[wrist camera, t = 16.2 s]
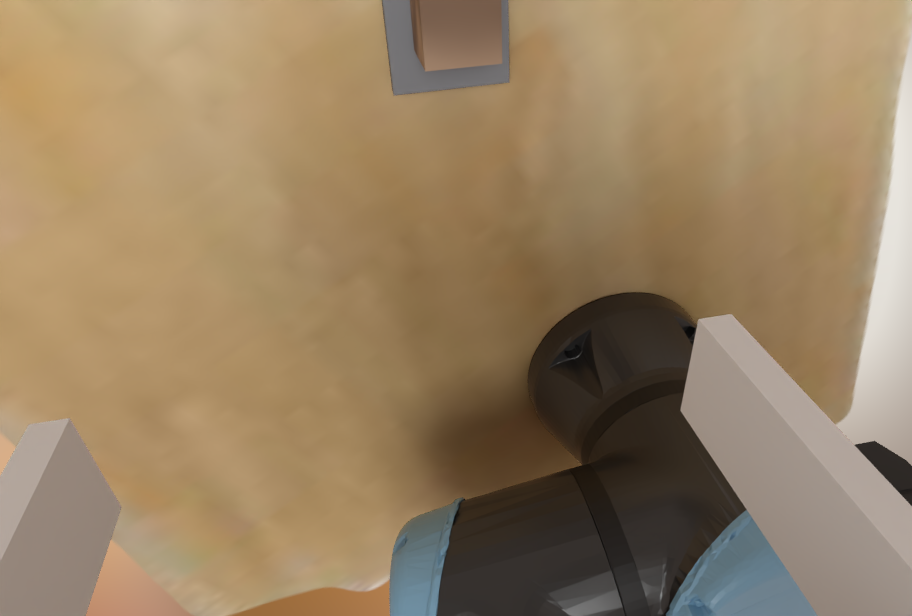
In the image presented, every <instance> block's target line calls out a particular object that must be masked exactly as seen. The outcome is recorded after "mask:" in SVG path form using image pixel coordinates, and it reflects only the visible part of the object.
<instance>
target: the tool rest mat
mask: <svg viewBox="0 0 912 616" xmlns="http://www.w3.org/2000/svg"><path fill="white" fill-rule="evenodd" d="M382 6H383V14H384V23H385V31H386V39H387V48H388V56H389V65H390V73H391V81H392V90H393V94H394V95H402V94H411V93H420V92H429V91H437V90H446V89H455V88H464V87H473V86H482V85H491V84H500V83H509V23H508V0H501V9H502V64H494V65H484V66H474V67H465V68H455V69H445V70H436V71H426V72H425V70H424V68H423V66H422V64H421V62H420V60H419V59H418V57H417V55H416V53H415V51H414V43H413V32H412V21H411V10H410V0H382Z"/></svg>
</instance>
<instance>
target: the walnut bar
mask: <svg viewBox="0 0 912 616" xmlns="http://www.w3.org/2000/svg"><path fill="white" fill-rule="evenodd" d="M410 10H411V21H412V32H413V43H414V51H415V53H416V55H417V57H418V59H419V60H420V62H421V64H422V66H423V68H424V70H425V72H426V71H436V70H445V69H455V68H465V67H474V66H484V65H494V64H502V9H501V0H410Z"/></svg>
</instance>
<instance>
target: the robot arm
mask: <svg viewBox="0 0 912 616" xmlns="http://www.w3.org/2000/svg"><path fill="white" fill-rule="evenodd" d="M528 389H529V394H530V397H531V400H532V402H533V405H534V407H535V410H536V412H537V415H538V417H539V419H540V420H541V422H542V423H543V425H544V426H545V427H546V429H547V430H548V431H549V432H550V433H551V434H552V435H553V436H554V437H555V438H556V439H557V440H558V441H559V442H560V443H561V444H562V445H563V446H564V447H565V448H566V449H567V450H568V451H569V452H570V453H571V454H572V455H573V456H574V457H575V458H576V459H577V460H578V461H579V462H580V463H581V464H582V466H579V467H575V468H572V469H567V470H564V471H561V472H557V473H554V474H551V475H547V476H544V477H541V478H538V479H534V480H531V481H528V482H525V483H521V484H518V485H515V486H511V487H508V488H505V489H502V490H498V491H495V492H492V493H489V494H485V495H482V496H478V497H475V498H471V499H468V500H465V499H464V498H463V497H462V498H458V499H456V500H455V501H454V502H453V503H452V504H450V505H447V506H444V507H441V508H439V509H436V510H433V511H430V512H427V513H425V514H422V515H419V516H417V517H415V518H413V519H411V520H410V521H408V522H407V523H406V524H405V525H404V527H403V528H402V529H401V531H400V533H399V535H398V537H397V539H396V542H395V545H394V549H393V554H392V561H391V570H390V616H912V466H911V465H910V464H909V463H908V462H907V461H906V460H905V459H903V458H901V457H900V456H898V455H897V454H895V453H893V452H892V451H890V450H888V449H887V448H885V447H883V446H882V445H880V444H879V443H877V442H875V441H873V442H867V443H862V444H856V445H854V444H853V443H852V442H851V441H850V440H849V439H848V438H847V437H846V436H845V435H844V434H843V432H842V431H841V430H840V429H839V428H838V427H837V426H836V425H835V424H834V423H833V422H832V421H831V420H830V419H829V418H828V417H827V415H826V414H825V413H824V412H823V411H822V410H821V409H820V408H819V407H818V406H817V405H816V404H815V403H814V402H813V401H812V399H811V398H810V397H809V396H808V395H807V394H806V393H805V392H804V391H803V390H802V389H801V388H800V387H799V386H798V385H797V383H796V382H795V381H794V380H793V379H792V378H791V377H790V376H789V375H788V374H787V373H786V372H785V371H784V370H783V369H782V368H781V366H780V365H779V364H778V363H777V362H776V361H775V360H774V359H773V358H772V357H771V356H770V355H769V354H768V353H767V352H766V350H765V349H764V348H763V347H762V346H761V345H760V344H759V343H758V342H757V341H756V340H755V339H754V338H753V337H752V336H751V334H750V333H749V332H748V331H747V330H746V329H745V328H744V327H743V326H742V325H741V324H740V323H739V322H738V321H737V320H736V319H735V317H734V316H733V315H732V314H728V315H721V316H715V317H709V318H702V319H698V324H696V323H695V322H694V321H693V320H692V318H691V317H690V316H689V315H688V314H687V312H686V311H685V310H684V309H683V308H681V307H680V306H679V305H678V304H676V303H675V302H673V301H671V300H669V299H667V298H664V297H661V296H657V295H653V294H647V293H626V294H619V295H614V296H610V297H606V298H603V299H600V300H597V301H594V302H592V303H590V304H587V305H585V306H584V307H582V308H580V309H578V310H576V311H575V312H573V313H572V314H570V315H569V316H567V317H566V318H565V319H563V320H562V321H561V322H560V323H558V324H557V325H556V326H555V327H554V328H553V329H552V330H551V331H550V332H549V333H548V335H547V336H546V337H545V338H544V339H543V341H542V342H541V344H540V345H539V347H538V349H537V350H536V352H535V354H534V356H533V359H532V361H531V364H530V368H529V373H528ZM120 510H121V505H120V504H119V502H118V500H117V498H116V497H115V495H114V493H113V492H112V490H111V488H110V486H109V485H108V483H107V481H106V480H105V478H104V476H103V474H102V473H101V471H100V469H99V468H98V466H97V464H96V462H95V461H94V459H93V457H92V455H91V454H90V452H89V450H88V449H87V447H86V445H85V443H84V442H83V440H82V438H81V437H80V435H79V433H78V431H77V430H76V428H75V426H74V425H73V423H72V421H71V419H70V418H67V419H61V420H55V421H48V422H42V423H35V424H29V425H28V427H27V429H26V431H25V432H24V434H23V436H22V438H21V440H20V441H19V443H18V445H17V447H16V449H15V451H14V452H13V454H12V456H11V458H10V460H9V461H8V463H7V465H6V467H5V468H4V470H3V472H2V474H1V476H0V616H85V615H86V613H87V609H88V607H89V604H90V601H91V597H92V594H93V591H94V588H95V585H96V582H97V579H98V576H99V573H100V570H101V567H102V564H103V561H104V558H105V555H106V552H107V549H108V546H109V543H110V540H111V537H112V534H113V531H114V528H115V525H116V522H117V519H118V516H119V513H120Z"/></svg>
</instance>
